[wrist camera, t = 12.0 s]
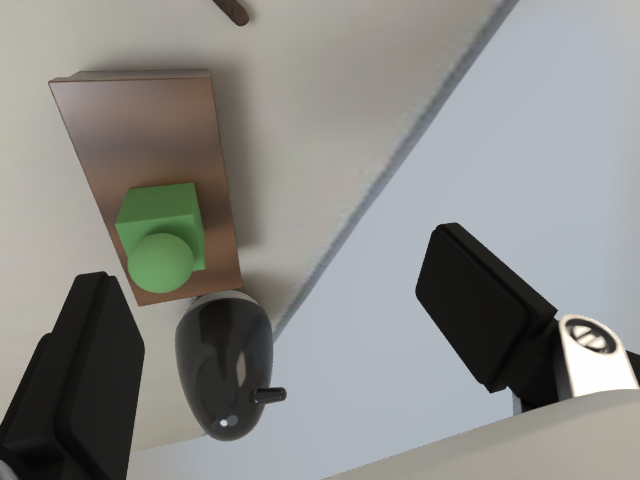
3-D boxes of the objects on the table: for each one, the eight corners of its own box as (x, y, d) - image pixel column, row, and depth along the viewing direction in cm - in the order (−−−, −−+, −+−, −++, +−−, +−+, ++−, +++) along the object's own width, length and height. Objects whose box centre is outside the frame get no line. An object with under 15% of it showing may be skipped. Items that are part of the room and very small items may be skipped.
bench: (76, 67, 24) (46, 81, 19) (208, 65, 26) (211, 77, 21) (146, 265, 34) (138, 307, 29) (236, 251, 36) (242, 287, 31)
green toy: (128, 188, 23) (101, 257, 17) (193, 181, 24) (192, 243, 18) (145, 240, 26) (128, 317, 19) (204, 231, 27) (207, 302, 20)
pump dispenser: (281, 310, 43) (313, 426, 31) (211, 349, 43) (217, 480, 31) (237, 260, 37) (258, 380, 25) (156, 306, 37) (137, 448, 25)
